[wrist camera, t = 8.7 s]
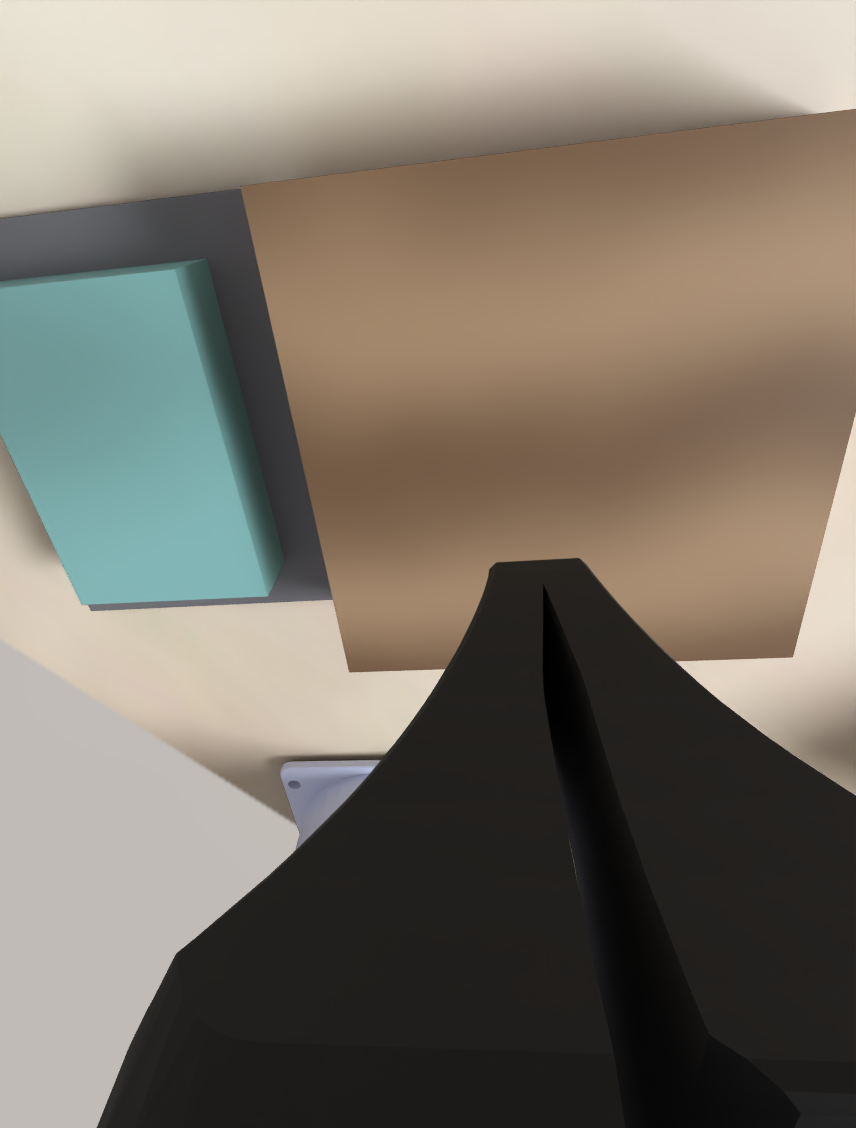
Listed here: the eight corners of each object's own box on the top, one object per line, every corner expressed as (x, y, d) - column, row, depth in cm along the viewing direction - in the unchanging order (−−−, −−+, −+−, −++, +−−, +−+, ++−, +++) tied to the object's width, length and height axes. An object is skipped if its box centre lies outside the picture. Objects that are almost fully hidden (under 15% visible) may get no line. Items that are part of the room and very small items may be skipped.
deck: (739, 574, 20) (792, 657, 17) (369, 592, 21) (349, 672, 18) (823, 115, 14) (936, 98, 10) (293, 182, 15) (240, 185, 12)
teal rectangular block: (81, 604, 20) (113, 570, 21) (267, 596, 19) (284, 561, 21) (-66, 295, 15) (-11, 282, 17) (174, 269, 14) (206, 258, 16)
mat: (340, 594, 22) (339, 599, 21) (95, 605, 23) (91, 610, 22) (253, 187, 15) (249, 187, 15) (-82, 229, 16) (-91, 229, 16)
